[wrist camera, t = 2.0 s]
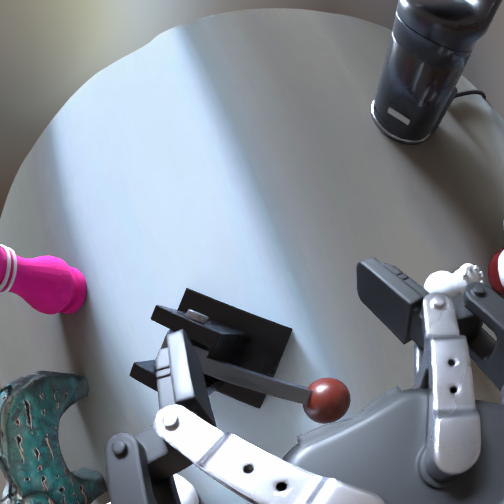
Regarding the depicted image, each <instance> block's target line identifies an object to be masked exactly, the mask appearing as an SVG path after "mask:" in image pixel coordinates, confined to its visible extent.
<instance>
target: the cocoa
mask: <svg viewBox="0 0 504 504" xmlns="http://www.w3.org/2000/svg"><path fill="white" fill-rule="evenodd" d="M488 276H489V281H490V283H491V285H492V287H493V289H494V291H496V292H497V293H499V294H500V295H503V296H504V248H502V249H501V250H499V251H498V252H497V253H496V254H495V255H494V256H493V258H492V260H491V262H490V264H489V271H488Z"/></svg>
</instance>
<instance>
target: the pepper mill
mask: <svg viewBox="0 0 504 504" xmlns="http://www.w3.org/2000/svg"><path fill="white" fill-rule="evenodd" d="M8 291H9V292H13V293H15V294H17V295H19V296H21V297H22V298H23V299H24V300H25V301H26V302H27V303H28V304H29V305H31V306H32V307H33V308H34V309H36V310H38V311H39V312H42V313H45V314H56V313H58V312H60V313H65V314H72V313H75V312H77V311H78V310H79V309H80V308H81V306H82V305H83V303H84V300H85V298H86V291H87V286H86V281H85V278H84V276H83V274H82V273H81V272H80V271H79V270H77V269H75V268H72V267H69V266H68V265H67V264H66V263H65V262H64V261H63V260H61V259H60V258H57V257H53V256H41V257H37V258H33V259H25V258H22V257H19V256H17V255H15V252H14V251H13V250H12V249H11V248H8V247H6V246H4V245H0V294H5V293H7V292H8Z"/></svg>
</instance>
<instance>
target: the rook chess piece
mask: <svg viewBox="0 0 504 504" xmlns="http://www.w3.org/2000/svg"><path fill="white" fill-rule="evenodd" d="M479 268H480V267H478V266H477V265H475V266H474V265H472V264H468V263H466V264H464V265H462V266H461V267H460V268H459V270H456V271H455V272H454V274H451V273H449V272H447V271H439V272H435V273H433V274H431V275H430V276H429V277H428V278H427V280H426V283H425V285H424V289H425V290H426V291H428V292H429V293H434V292H439V293H443V294H446V295H448V296H449V297H450V298H452V297H455V296H459V295H462V294H464V291H465V287H466V286H467V285H468V284H469V283H472V282H480V283H484V281H481V277H483V276H484V275H483V272H479V271H478V270H479Z"/></svg>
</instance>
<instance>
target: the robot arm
mask: <svg viewBox="0 0 504 504" xmlns="http://www.w3.org/2000/svg"><path fill="white" fill-rule="evenodd" d="M501 2H502V0H399V1H398V6H397V12H396V16H395V21H394V25H393V30H392V34H391V39H390V43H389V47H388V51H387V55H386V59H385V63H384V66H383V70H382V74H381V77H380V81H379V85H378V88H377V92H376V95H375V99H374V101H373V103H372V107H371V115H372V118H373V120H374V122H375V124H376V125H377V127H378V128H379V129H380V130H381V131H382V132H383V133H385V134H386V135H387V136H389V137H390V138H392V139H394V140H396V141H399V142H401V143H405V144H419V143H422V142H424V141H425V140H426V139H427V138H428V137H429V135H430V134H431V133H434V132H435V131H436V129H437V127H438V125H439V124H440V122H441V120H442V118H443V117H444V115H445V113H446V111H447V110H448V108H449V106H450V104H451V102H452V101H453V99H454V98H456V97H460V96H464V95H470V94H479V95H481V96H482V97H483V98H484V99H486V96H485V94H484V93H483V92H482V91H479V90H467V91H461V92H457V88H456V87H455V86H456V84H457V82H458V80H459V78H460V76H461V74H462V72H463V70H464V68H465V65H466V63H467V61H468V59H469V57H470V55H471V53H472V50H473V48H474V46H475V44H476V42H477V41H478V40H479V39H480V38H481V37H482V36H484V35H485V33H486V32H487V30H488V29H489V27H490V25H491V23H492V21H493V18H494V16H495V14H496V12H497V10H498V8H499V6H500V4H501ZM357 291H358V295H359V297H360V299H361V301H362V302H363V303H364V304H365V305H366V306H367V307H368V308H369V309H370V310H371V311H372V312H373V313H374V314H375V315H376V316H377V317H378V318H379V319H380V320H381V321H382V322H383V323H384V324H385V325H386V326H387V327H388V328H389V329H390V330H391V331H392V333H393V334H394V335H395V336H396V337H397V338H398V339H399V340H400V341H401V342H402V343H403V344H406V343H407V342H409V341H411V340H413V341H414V342H415V345H414V386H413V389H408V390H404V391H401V389H400V388H399V387H398V386H396V387H394V388H392V389H391V390H389V391H387V392H386V393H384V394H382V395H380V396H379V397H377V398H375V399H374V400H373V401H372V402H371V403H370V404H369V405H368V406H367V407H365V408H364V409H363V410H362V411H361V412H360V413H359V414H358V415H356V416H355V417H353V418H351V419H347V420H343V421H339V422H335V423H330V424H326V425H323V426H320V427H318V428H316V429H314V430H311V431H309V432H307V433H304V434H302V435H300V436H297V439H298V442H299V443H298V444H297V445H296V446H294V447H293V448H292V449H291V450H290V451H289V452H288V453H287V454H286V455H285V456H284V457H283V459H280V458H278V457H276V456H274V455H272V454H270V453H268V452H266V451H264V450H262V449H260V448H258V447H256V446H254V445H252V444H250V443H248V442H247V441H245V440H243V439H241V438H239V437H238V436H236V435H234V434H231V433H227V434H226V433H223V432H222V431H220V430H218V429H217V426H216V423H215V419H214V415H213V411H212V408H211V404H210V400H209V396H208V392H207V388H206V384H205V379H204V375H203V371H202V367H201V363H200V360H199V358H198V355H197V353H196V351H195V349H194V348H193V346H192V344H191V342H190V340H189V338H188V336H187V334H186V332H185V331H184V329H182V330H179V331H176V332H173V333H170V334H167V348H164V349H160V350H159V352H158V355H157V357H156V360H155V361H156V371H157V372H156V376H157V388H158V399H159V412H158V413H157V415H156V416H155V418H154V422H153V425H152V426H151V427H149V428H148V429H146V430H144V431H143V432H141V433H139V434H137V435H135V436H134V437H133V436H132V435H131V434H128V433H118V434H116V435H114V436H112V437H111V438H110V439H109V441H108V442H107V444H106V447H105V460H106V471H107V481H108V489H109V496H110V503H111V504H181V501H180V498H179V494H178V491H177V487H176V483H175V479H174V476H173V475H175V474H176V473H178V472H180V471H182V470H183V469H185V468H187V467H188V466H190V465H192V464H193V465H194V466H196V467H197V468H198V469H200V470H201V471H203V472H204V473H205V474H207V475H208V476H210V477H211V478H213V479H214V480H216V481H217V482H219V483H220V484H222V485H223V486H225V487H226V488H228V489H229V490H231V491H232V492H234V493H236V494H237V495H239V496H240V497H242V498H244V499H245V500H247V501H249V502H251V503H252V504H504V299H503V298H502V297H501V296H499V295H498V294H497V293H496V292H494V291H493V290H492V289H491V288H489V287H488V286H487V285H485V284H483V283H480V282H472V283H469V284H468V285H467V286H466V287H465V291H464V294H462V295H459V296H455V297H452V298H450V297H449V296H448V295H446V294H443V293H439V292H434V293H429V292H428V291H426V290H425V289H424V288H423V287H421V286H420V285H419V284H417V283H416V282H415V281H413V280H412V279H411V278H409V277H408V276H407V275H406V274H404V273H403V272H402V271H400V270H399V269H398V268H396V267H395V266H392V265H389V264H386V263H384V264H382V263H380V262H379V261H378V260H376V259H375V258H374V257H370V258H368V259H366V260H363V261H361V262H359V263H358V264H357ZM483 322H484V323H485V324H486V325H487V326H488V327H489V328H490V329H491V330H492V331H493V332H494V333H495V334H496V337H497V342H496V341H495V340H494V339H493V338H492V337H491V336H490V335H489V334H488V333H487V332H486V331H485V330H484V329H483V328H482V324H483ZM470 358H471V359H472V360H473V361H474V362H475V363H476V364H477V365H478V366H479V368H480V369H481V370H482V371H483V372H484V373H485V374H486V375H487V376H488V378H489V379H490V380H491V381H492V382H493V383H494V384H495V386H496V387H497V388H498V389H499V390H500V391H501V398H502V402H501V404H496V403H491V402H485V401H480V400H475V395H474V385H473V377H472V369H471V362H470Z"/></svg>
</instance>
